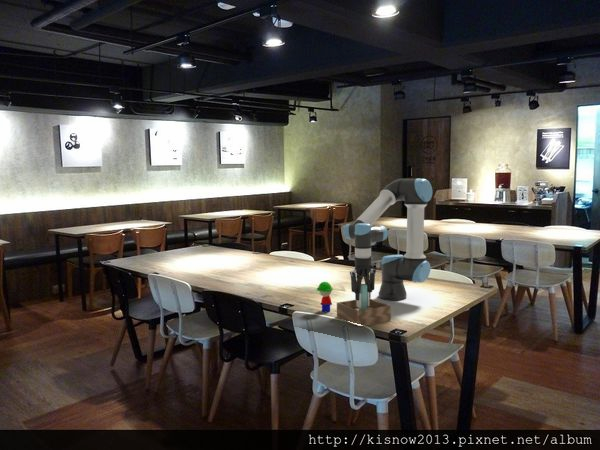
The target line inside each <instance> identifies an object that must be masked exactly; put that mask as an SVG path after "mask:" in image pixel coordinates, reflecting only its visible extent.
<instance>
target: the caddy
mask: <svg viewBox="0 0 600 450" xmlns="http://www.w3.org/2000/svg"><path fill="white" fill-rule="evenodd" d="M391 310H392V309H391V305H389V304H386V303H384V302H380V301H378V300H376V299H373V298H370V299H369V306H367V310H361V311H359V307H357V300H356V299H351V300H346V301H345V300H344V301H339V302H336V318H338V319H340V320H342V319H343V320H342V321H344V320H346V321H350V322H353V323H357V324H361V325H365V326H370V325H375V324H380V323H386V322H391V321H392V320H391V319H392V317H391V315H392V314H391V312H392V311H391ZM346 321H345V322H346ZM365 326H364V327H365Z"/></svg>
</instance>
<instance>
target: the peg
mask: <svg viewBox="0 0 600 450" xmlns="http://www.w3.org/2000/svg"><path fill="white" fill-rule="evenodd" d="M360 293H361V308H360V307H359V311H361V310H367V284H365V283H361V288H360Z"/></svg>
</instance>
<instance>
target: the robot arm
mask: <svg viewBox="0 0 600 450" xmlns="http://www.w3.org/2000/svg"><path fill="white" fill-rule="evenodd" d="M432 197H433V187H432V185H431V183H430V181H429V180H428V179H426V178H398V179H396V180H393V181H392V182H390V183H389V184H387V185H386V186H385V187H384V188H383V189H381V191H380V192H379V195H378V197H377V198H376V199H375V200H373V202H372V203H371V204H370V205H369V206H368V207H367V208H366V209H365V210H364V211H363V212H362V213H361V214H360V216H358V217H357V219H356V220H355V221H354V222H353V223H346V224H345V225H344V227H343V230H342V234H343V237H344V238H345V239H347V240H351V241H353V240H354V256H355V257H354V270H352V271H349V274H350V283H351V285H350V286H351V287H350V289H351V292H352V293H354V295H355V296H354V297H355V299H354V300H357V307H360V308H361V293H360V288H361V284H362V280H363V279H364V284H367V306H369V299H372V297H371V294H372V293H373V291H374V290H375V279H376V278H375V277H376V272H377V270H376V269H375V268H372V266H371V265H372V257H371V256H372V243H373V244H374V243H379V242H380V243H381V242H383V241H386V240H387V238H388V236H389V231H388V229H387V227H386V226H384V225H374V224H375V222H377V221H378V219H379V218H380V217H381V216H382V215H383V214H384V213H385V212H386V210H387V209H388V208H389V207H390V206H392V205H394V204H395V203H396V202H399V201H402V202H404V206H405V207H406V208H407V210H406V211H407V212H406V213H407V215H406V216H407V218H406V253H404V255H403V254H391V255H386V256H385V255H384V256H383V257H382V258H381V285H380V288H379V290H378V298H380V299H382V300H386V301H399V300H402V301H403V300H404V299H406V298H407V295H408V294H407V291H406V288H405V284H404V281H407V282H412V283H416V284H417V283H419V284H420V283H421V284H422V283H424V282H426V280H428V278H429V276H430V274H431V269H432V267H431V264H430V262H429V261H427V256H426V255H425V254H424V239H425V238H424V237H425V235H424V234H425V232H424V231H425V230H424V229H425V207H427V206H428V202H429V201H431V200H432Z"/></svg>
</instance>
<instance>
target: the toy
mask: <svg viewBox="0 0 600 450" xmlns="http://www.w3.org/2000/svg"><path fill="white" fill-rule="evenodd" d="M333 290H334V288H333V287H332V285H331V284H330V283H329V282H328V281H322V282H320V283H319V285H318V287H316V291H319V294H320V295H321V296H322V298H321V302H320V305H321V312H325V313H331V306H332V305H333V303H332V299H331V296H330V295H331V293H332V291H333Z"/></svg>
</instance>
